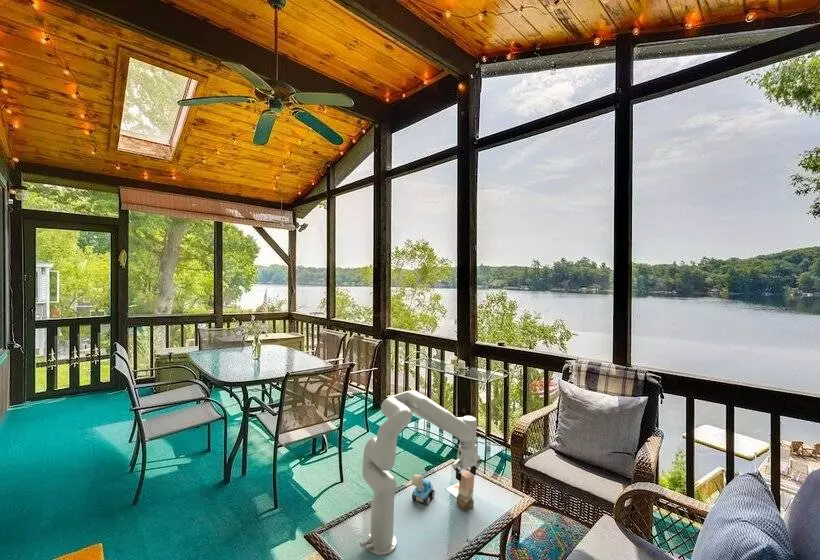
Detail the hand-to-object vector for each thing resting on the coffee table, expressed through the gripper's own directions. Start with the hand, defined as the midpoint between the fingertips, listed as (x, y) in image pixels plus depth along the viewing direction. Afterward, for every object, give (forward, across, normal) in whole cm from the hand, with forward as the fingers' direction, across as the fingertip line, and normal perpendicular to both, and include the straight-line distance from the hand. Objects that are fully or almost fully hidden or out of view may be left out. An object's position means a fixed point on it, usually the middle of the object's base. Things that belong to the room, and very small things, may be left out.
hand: (465, 476), depth 184 cm
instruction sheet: (+15, +7, +11) cm, 20 cm away
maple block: (+11, +1, 0) cm, 11 cm away
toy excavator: (+16, -16, +14) cm, 26 cm away
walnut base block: (+15, +1, 0) cm, 15 cm away
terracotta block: (+5, +1, 0) cm, 5 cm away
